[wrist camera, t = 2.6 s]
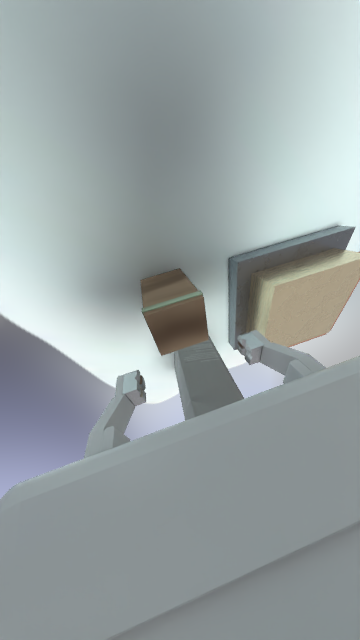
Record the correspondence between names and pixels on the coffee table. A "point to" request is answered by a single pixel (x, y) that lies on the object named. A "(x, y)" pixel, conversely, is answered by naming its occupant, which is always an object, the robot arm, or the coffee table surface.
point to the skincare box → (203, 380)
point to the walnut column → (174, 311)
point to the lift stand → (292, 287)
